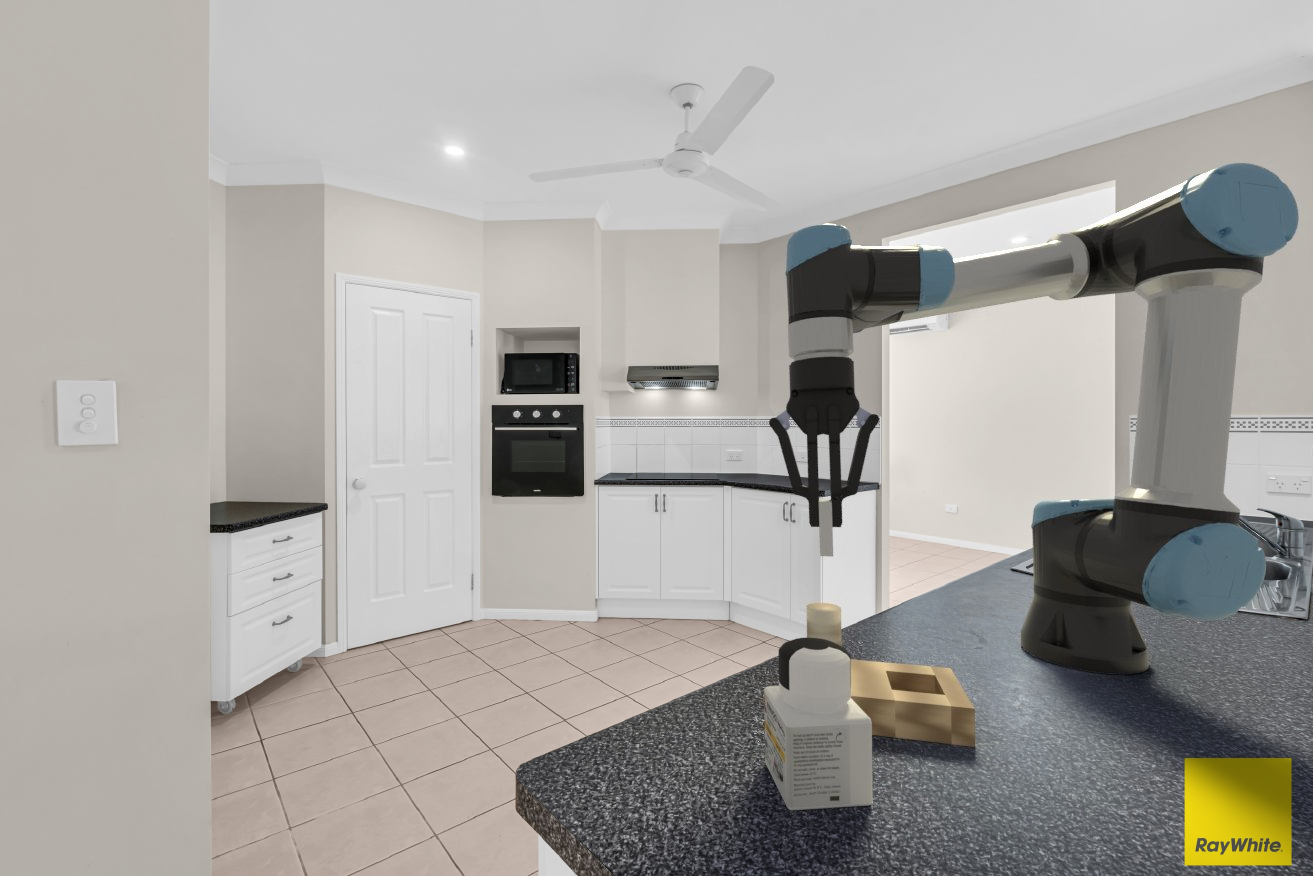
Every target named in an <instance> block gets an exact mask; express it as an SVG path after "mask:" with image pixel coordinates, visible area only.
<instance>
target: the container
mask: <svg viewBox="0 0 1313 876" xmlns="http://www.w3.org/2000/svg"><path fill="white" fill-rule="evenodd" d="M851 659H852V658H851V653H849V652H848V650H847V649H846V648H845V647H843V646H840V645H838V644H836V643H834V642H832V641H829V640H825V639H820V638H807V637H797V638H794V639H791V640H788V641H786V642H784V643H782V645H781V646H780V647H779V648H778V685H774V686H773V685H772V686H771V685H769V686H765V687H764V688H763V689H764V691H763V696H764V697H763V701H764V703H763V704H764V710H763V712H764V715H763V717H764V763H765V765H766V768H767V769H768V771H769V773H770V776H771V777H772V779H773V781H774V783H775V785H776V788H777V790H778V791H779V794H780V796H781V797H782V800H783V801H784V804H785V805H786V808H787V809H788V810H789V811H800V810H801V811H802V810H803V811H804V810H818V809H819V810H820V809H830V808H831V809H832V808H835V809H836V808H848V807H867V806H870V805H872V804H873V735H872V722H871V719H870V718H869V717H868V716H867V714H866V713H865V712H864V711H863V710H862V709H861V708H860V707H859V706H858V705H857V704H856V703H855V702H854V701H853V700H852V699H851Z"/></svg>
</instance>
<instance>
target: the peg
mask: <svg viewBox="0 0 1313 876" xmlns="http://www.w3.org/2000/svg"><path fill="white" fill-rule="evenodd" d="M806 638H820V639H825V640H829V641H832V642H834V643H836V644H838V645H840V646H842V645H843V643H842V607H841V606H839V605H837V604H833V603H828V602H812V603H808V604H807V605H806ZM842 647H843V646H842Z"/></svg>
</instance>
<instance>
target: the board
mask: <svg viewBox="0 0 1313 876" xmlns="http://www.w3.org/2000/svg"><path fill="white" fill-rule="evenodd" d="M951 668H952V667H951ZM951 668H950V667H941V666H940V667H939V666H931V665H920V664H910V663H909V664H908V663H898V662H896V663H895V662H884V661H883V662H882V661H874V660H873V661H872V660H863V659H861V660H860V659H852V658H851V699H852V700H853V701H854V702H855V703H856V704H857V705H858V706H859V707H860V708H861V709H862V710H863V711H864V712H865V713H866V714H867V716H868V717H869V718H870V719H871V722H872V736H879V737H887V738H889V737H890V738H897V739H904V740H912V741H913V740H915V741H919V742H920V741H921V742H929V743H930V742H931V743H938V744H945V745H946V744H947V745H954V746H955V745H956V746H963V747H970V748H971V747H972V748H975V747H976V708H975V707H974V705H973V703H972V702H971V700H970V699H969V696H968V694H967V693H966V691H965V690H964V689H963V687H962V685H961V683H960V682H959V680H958V678H957V677H956V675H955V674H954V671H953V670H952V669H951Z"/></svg>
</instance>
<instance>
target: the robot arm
mask: <svg viewBox="0 0 1313 876" xmlns="http://www.w3.org/2000/svg"><path fill="white" fill-rule="evenodd" d="M1298 225H1299V208H1298V204H1297V202H1296V199H1295V196H1294V194H1293V193H1292V191H1291V189H1290V188H1289V186H1288V185H1287V184H1286V183H1285V182H1283V181H1282V180H1281V179H1280V177H1279V175H1277V174H1276V173H1275V172H1273V171H1271V170H1269V169H1267V168H1265V167H1262V166H1260V165H1257V164H1253V163H1247V162H1235V163H1234V162H1233V163H1228V164H1224V165H1220V166H1218V167H1216V168H1214V169H1211V170H1209V171H1206V172H1204V173H1202V172H1201V173H1197V174H1196V175H1195V174H1194V175H1192V176H1191V177H1189V178H1187V179H1186V180H1185V181H1184V182H1182V183H1180V184H1178V185H1175V186H1173V187H1171V188H1169V189H1167V190H1164V191H1163V192H1161V193H1158V194H1155V195H1154V196H1152V197H1149V198H1147V199H1145V200H1142V201H1140V202H1137V204H1134V205H1131V206H1129V207H1127V208H1125V209H1122V210H1120V211H1119V212H1117V213H1114V214H1112V215H1110V216H1108V217H1106V218H1103V219H1101V220H1099V221H1098V222H1095V223H1093V224H1091V225H1087V226H1085V227H1082V228H1080V229H1077V230H1072V231H1069V232H1063V233H1058V234H1056V235H1053V236H1052V237H1050V238H1049V239H1048V240H1047V241H1046V242H1045V243H1041V244H1035V245H1030V246H1024V247H1018V248H1013V249H1007V250H1002V251H1001V250H1000V251H995V252H989V253H984V254H983V253H982V254H978V255H973V256H972V255H971V256H966V257H961V258H954V257H953V256H952V253H951V252H950V251H949V250H948V249H947V248H945V247H943V246H934V245H933V246H930V245H922V244H920V243H919V244H916V245H892V246H890V245H886V246H884V245H883V246H882V245H881V246H880V245H879V246H875V245H873V246H861V245H853V240H852V238H851V233H850V231H849V229H848V228H847V227H845V226H843V225H837V224H836V223H835V224H834V223H820V224H814V225H809V226H807V227H804V228H803V227H802V228H801V229H799V230H797V231H796V232H794V233H793V234H792V236H791V237H789V239H788V241H787V245H786V246H787V247H786V263H785V265H786V267H785V270H786V271H785V276H786V277H785V278H786V294H787V312H788V315H787V316H788V320H787V321H788V325H787V338H788V343H787V344H788V357H789V358H790V359H792V360H793V361H792V362H791V363H790V364H788V369H789V399H788V400H787V403H786V407H785V409H786V410H784V411H782V412H781V413H780V414H778V415H777V416H775V417H772V418H770V419H769V421H768V424H769V426H770V428H771V429H772V430H773V432H774V434H776V436H777V438H778V442H779V445H780V449H781V452H782V453H781V454H782V457H783V460H784V464H785V466H786V471H787V474H788V478H789V482H790V485H791V489H792V492H793V494H794V495H796V496H799V497H802V498H804V499H806V500H807V502H808V520H809V521H808V523H809V525H810V527H811V528H819V530H818V531H819V556H820V557H831V558H832V557H834V535H833V534H834V530H833V528H842V525H843V504H842V503H843V501H844V499H845V498H848V497H850V496H855V495H857V494H858V491H859V486H860V484H861V483H860V482H861V478H862V474H863V470H864V469H863V468H864V464H865V460H866V459H865V458H866V455H867V451H868V446H869V441H870V437H871V434H872V432H873V431H874V429H875V428H876V426H877V425H878V423H879V422H880V417H879V415H878V414H875V413H871V412H869V411H867V410H865V409H864V408H862V407H860V406H861V404H860V401H859V399H858V398H857V396H856V391H855V390H856V389H855V387H856V386H855V366H854V365H855V362H854V360H853V359H852V358H850V357H849V356H851V355H852V354H853V353H854V334H857V333H861V332H863V330H866V329H869V328H876V327H880V326H886V325H887V326H888V325H891V324H892V325H893V324H895V323H900V322H907V321H913V320H918V319H922V318H923V319H924V318H929V317H935V316H941V315H946V314H947V315H948V314H951V313H952V314H953V313H957V312H963V311H969V310H975V309H982V308H987V307H992V306H1000V305H1004V304H1010V303H1015V302H1019V301H1020V302H1021V301H1025V300H1033V299H1037V298H1043V297H1049V298H1050V299H1052V300H1056V301H1068V300H1073V299H1079V298H1087V297H1094V296H1095V297H1097V296H1104V295H1116V294H1124V293H1131V292H1135V294H1137V295H1138V296H1140V298H1141V299H1143V300H1145V301H1146V302H1147V312H1146V324H1145V332H1144V334H1145V335H1144V343H1143V344H1144V346H1143V354H1142V363H1141V364H1142V366H1141V375H1140V385H1139V394H1138V395H1139V396H1138V405H1137V415H1136V428H1135V437H1134V447H1133V459H1132V468H1131V478H1130V484H1129V485H1128V487H1127V488H1125V489H1123V490H1122V491H1121V492H1119V493H1116V495H1114V498H1103V499H1102V498H1101V499H1099V498H1095V499H1093V498H1092V499H1090V498H1089V499H1065V500H1064V499H1059V500H1043V501H1040V502H1037V504H1035V506H1034V507H1033V511H1032V513H1033V514H1032V520H1031V521H1032V522H1031V526H1030V527H1031V529H1032V530H1031V531H1032V561H1033V562H1032V563H1033V566H1032V567H1033V573H1032V574H1033V598H1032V601H1031V603H1030V605H1029V607H1028V611H1027V613H1026V616H1025V619H1024V621H1023V624H1022V626H1021V629H1020V646H1021V648H1022V647H1023V648H1022V649H1023V650H1024V649H1025V650H1026V651H1027V653H1028V652H1029V653H1028V654H1030V655H1031V654H1032V655H1031V656H1033V655H1034V657H1035V656H1036V658H1037V659H1040V660H1043V661H1045V662H1048V663H1051V664H1053V665H1058V666H1061V667H1065V668H1069V669H1073V670H1077V671H1083V672H1090V673H1097V674H1098V673H1099V674H1105V675H1106V674H1107V675H1108V674H1109V675H1133V674H1141V673H1143V672H1145V671H1147V670H1148V669H1149V666H1150V665H1149V650H1148V647H1147V644H1146V642H1145V639H1144V637H1143V635H1142V632H1141V630H1140V626H1139V624H1138V622H1137V620H1136V617H1135V615H1134V612H1133V609H1132V603H1136V604H1140V605H1143V606H1145V607H1149V608H1151V609H1154V610H1155V611H1158V612H1160V613H1161V614H1165V615H1168V616H1170V615H1173V616H1177V617H1178V616H1179V617H1183V618H1185V619H1190V620H1194V621H1195V620H1197V621H1201V622H1202V621H1204V622H1205V621H1216V620H1217V621H1218V620H1222V619H1225V618H1228V617H1230V616H1232V615H1235V614H1236V613H1237V612H1238V611H1240V609H1242V608H1244V607H1246V606H1247V605H1249V604H1250V603H1251V602H1252V600H1253V599H1254V598H1256V596H1257V594H1258V593H1259V592H1260V590H1261V587H1262V586H1263V583H1264V580H1265V577H1266V570H1267V560H1266V555H1265V551H1264V550H1263V548H1262V547H1259V546H1258V545H1259V544H1260V543H1259V541H1258V540H1257V538H1256V537H1255V536H1254V535H1253V534H1252V533H1251V532H1249V531H1248V530H1246V529H1244V528H1242V527H1240V517H1241V509H1240V508H1239V507H1238V506H1237V505H1235V504H1234V503H1233V502H1232V501H1231V500H1230V499H1229V498H1227V496H1226V494H1225V493H1224V492H1225V481H1226V471H1227V470H1226V469H1227V461H1228V452H1229V451H1228V450H1229V439H1230V428H1231V419H1232V408H1233V407H1232V406H1233V395H1234V386H1235V376H1236V365H1237V356H1238V355H1237V353H1238V343H1239V332H1240V323H1241V322H1240V321H1241V312H1242V311H1241V309H1242V304H1243V303H1242V301H1243V297H1244V296H1245V294H1247V293H1248V292H1249V291H1251V290H1252V289H1254V288H1255V287H1257V286H1258V285H1259V284H1261V282H1262V280H1263V272H1264V260H1265V257H1268V256H1272V255H1274V254H1275V253H1276V252H1278V251H1280V250H1282V249H1283V248H1284V247H1285V246H1287V244H1288V242H1290V241H1292V239H1293V238H1294V237H1295V234H1296V232H1297V230H1298ZM855 416H856V426H857V428H859V430H858V433H857V436H856V440H855V446H854V448H853V449H854V450H853V453H852V458H851V462H850V467H849V470H848V471H849V472H848V474H847V475H848V476H847V480H846V485H842V462H841V460H842V459H841V434H842V433H844V431H845V430H846V428H847V427H848V426H849V424H850V423H851V421H852V420H853V419H854V418H855ZM790 419H792V420H793V421H794V423H795V424H796V426H797V427H798V428H799V429H800V431H802V433H803V434H804V435H806V446H807V447H806V451H807V452H806V453H807V455H806V456H807V484H808V485H807V486H806V485H803V482H802V477H801V474H800V470H799V467H798V463H797V459H796V456H795V452H794V448H793V445H792V442H791V438H790V435H789V433H788V430H789V429H790V428H791V425H790ZM821 435H826V436H828V450H829V452H828V453H829V454H828V455H829V456H828V458H829V483H830V484H829V487H830V498H820V489H819V453H818V451H819V447H818V446H819V444H818V442H819V441H818V436H821ZM1025 650H1024V651H1025ZM1026 651H1025V652H1026Z"/></svg>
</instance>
